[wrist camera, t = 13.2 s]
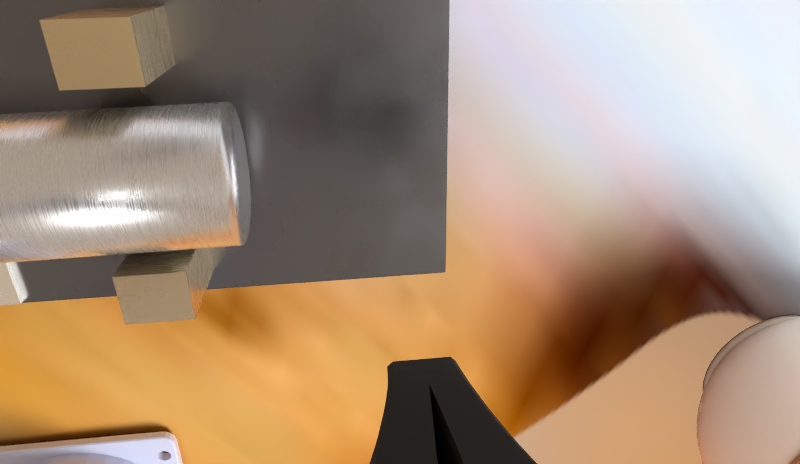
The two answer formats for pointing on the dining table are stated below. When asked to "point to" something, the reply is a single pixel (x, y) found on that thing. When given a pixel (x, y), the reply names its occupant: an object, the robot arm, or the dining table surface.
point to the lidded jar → (753, 397)
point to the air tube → (122, 181)
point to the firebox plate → (254, 133)
